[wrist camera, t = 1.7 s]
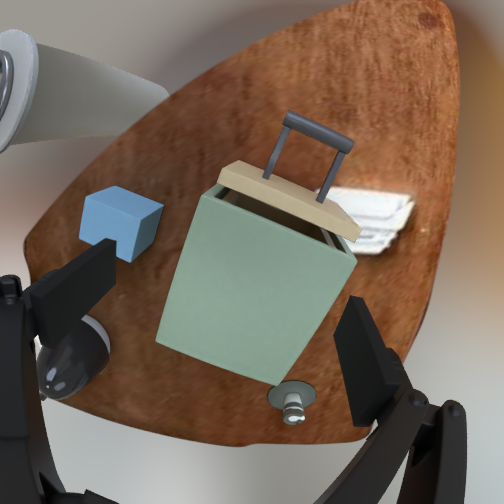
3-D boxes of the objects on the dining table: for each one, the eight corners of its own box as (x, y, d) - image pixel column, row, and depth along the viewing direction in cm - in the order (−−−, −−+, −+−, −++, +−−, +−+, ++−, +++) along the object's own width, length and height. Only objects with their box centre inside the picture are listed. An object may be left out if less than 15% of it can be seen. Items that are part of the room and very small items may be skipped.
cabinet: (226, 176, 31) (201, 194, 20) (331, 221, 32) (358, 261, 21) (186, 285, 36) (154, 341, 26) (278, 321, 37) (277, 386, 27)
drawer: (261, 106, 27) (255, 90, 18) (360, 152, 28) (396, 157, 19) (196, 268, 35) (171, 313, 25) (285, 303, 35) (287, 356, 26)
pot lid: (242, 384, 42) (239, 408, 38) (315, 361, 40) (319, 385, 35) (274, 424, 46) (274, 445, 41) (339, 404, 43) (343, 427, 38)
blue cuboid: (106, 222, 34) (78, 238, 28) (115, 185, 32) (85, 196, 26) (153, 242, 35) (130, 263, 29) (164, 205, 33) (141, 219, 27)
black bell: (61, 325, 42) (12, 379, 28) (79, 291, 39) (19, 350, 24) (104, 364, 44) (64, 426, 30) (129, 336, 41) (83, 407, 26)
